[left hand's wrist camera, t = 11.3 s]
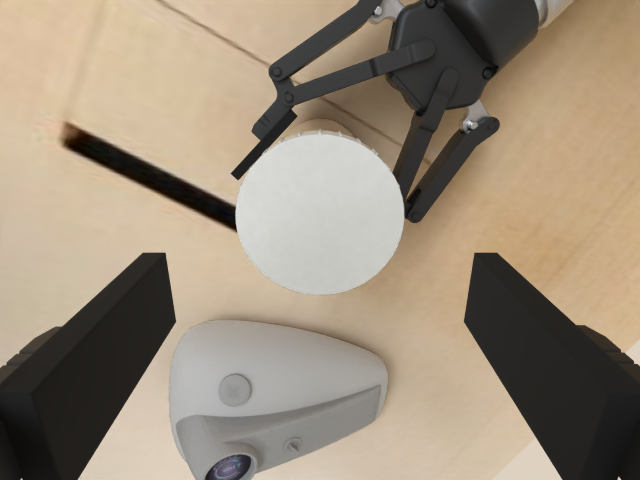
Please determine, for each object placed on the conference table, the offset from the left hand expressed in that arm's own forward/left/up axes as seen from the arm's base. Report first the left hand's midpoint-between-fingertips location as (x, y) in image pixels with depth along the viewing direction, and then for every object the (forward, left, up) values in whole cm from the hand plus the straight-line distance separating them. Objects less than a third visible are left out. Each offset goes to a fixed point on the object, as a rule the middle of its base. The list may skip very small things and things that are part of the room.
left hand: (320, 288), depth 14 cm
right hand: (-4, -2, -19) cm, 20 cm away
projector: (-14, -20, -26) cm, 35 cm away
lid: (0, 0, -8) cm, 8 cm away
